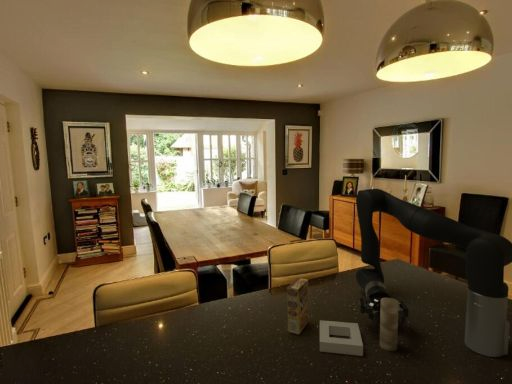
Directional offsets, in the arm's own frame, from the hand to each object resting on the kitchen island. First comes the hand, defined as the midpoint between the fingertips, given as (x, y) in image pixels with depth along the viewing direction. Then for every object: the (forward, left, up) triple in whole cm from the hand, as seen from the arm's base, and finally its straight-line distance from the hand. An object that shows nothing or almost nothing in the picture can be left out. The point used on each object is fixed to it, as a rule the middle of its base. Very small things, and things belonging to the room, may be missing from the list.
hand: (387, 319), depth 91 cm
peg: (0, +2, -8) cm, 8 cm away
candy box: (+27, -4, -8) cm, 28 cm away
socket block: (+14, +2, -8) cm, 16 cm away
